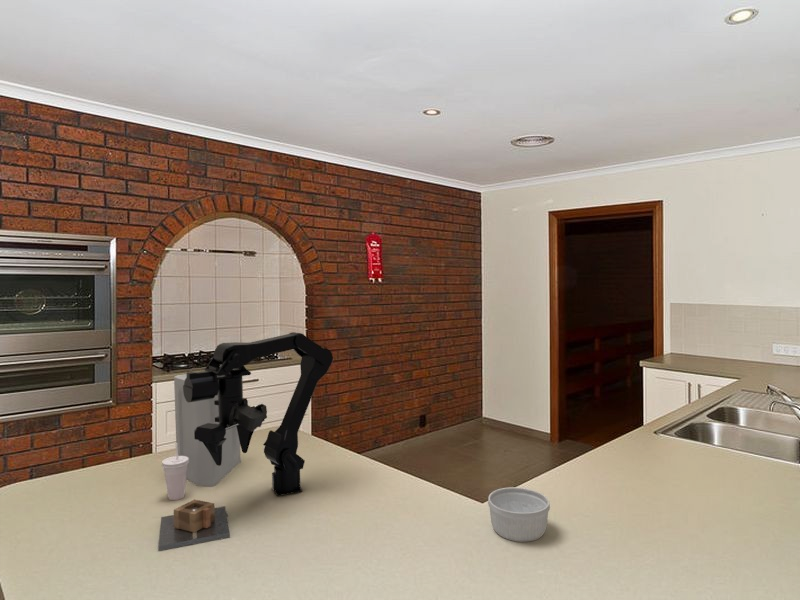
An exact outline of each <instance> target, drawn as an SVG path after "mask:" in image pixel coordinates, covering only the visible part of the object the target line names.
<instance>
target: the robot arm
mask: <svg viewBox="0 0 800 600" xmlns="http://www.w3.org/2000/svg"><path fill="white" fill-rule="evenodd" d="M291 350H293V351H294V353H296V355H297V356H299V357H301V361H300V376H299V379H298V382H297V384H296V387H295V388H294V392H293V394H292V396H291V398H290V401H289V404H288V406H287V409H286V411H285V413H284V416H283V418H282V421H281V423H280V425H279V427H278V428H276V430H275V431H274V430H269V432H268V434H267V438H266V440H265V442H264V443H263V446H264V448H263V453H264V456H265V458H266V459H268V460H269V462H270V463H271V465H273V471H272V473H271V484H272V486H271V487H272V490H273V492H275V494H276V496H277V497H278V496H284V495H291V494H295V493H301V492H303V490H302V487H301V470H303V469H304V466H305V459H304V458H303V457H301V456H300V455H298V453H297V452H298V448H299V436H298V434H299V430H300V428H301V426H302V425H301V424H302V423H303V420H304V417H305V416H306V412H307V410H308V407H309V405H310V402H311V401H312V397H313V395H314V392H315V390H316V387H317V385H318V382H319V381H320V380H321V379H322V378H323V377H324V376H325V375H326V374H327V373H328V372H329V370H330V367H331V366H332V364H333V361H334V356H333V353H332V351H331V349H329V348H326V347H322V346H321V345H320V344H318V343H316V342H315V341H313V340H311V339H310V338H308V337H307V336H306V335H305V334H304V333H301V332H296V331H291V332H289V333H287V334H282V335H279V336H274V337H270V338H265V339H259V340H255V341H251V342H249V341H248V342H241V341H239V342H238V341H237V342H222V343H219V344H218V345H217V346H216V348H215V349H214V352H213V355H212V358H211V359H210V360H209V362H208V364H207V366H206V367H205V368H204V370H202V371H188V372H186V374H187V378H186V379H185V382H184V385H183V393H184V397H185V399H186V401H187V402H188V403H189V402H195V401H201V400H207V399H213V398H214V397H215V396H216V395H218V400H215V401H214V405H218V413H219V416H218V417H215V422H219V424H211V423H207V424H204V425H201V426H198V427H197V428H196V429H195V430H194V437H195V439H196V440H199V441H200V442H203V444H204V445H205V446H206V448H207V449H208V451H209V453H210V454H211V456H212V458H213V460H214V461H215V463H216V465H218V466H220V465H221V462H222V444H223V443H224V441H225V440H226V438H224V436H225V434H226V430H228V429H230V428H233V427H235V426H236V427H237V431H238V436H239V441H240V450H241V452H242V453H243V454H246V453H247V452H248V450H249V447H250V444H251V443H250V442H251V441H252V438H253V437H252V436H253V434H254V431H255V430H256V429H257V428H261V427H262V425H263V422H265V419H267V418H268V416H267V413H268V409H267V405H266V404H264V403H259V404H258V405H256V406H255V405H253V406H251V405H249V403H248V402H249V400H248V398H247V397H244V394H243V393H244V391H243V390H244V387H243V385H244V384H243V377H245V376H250V375H251V374H252V372H251V371H250V370H249V369H247V368H246V365H248V364H251V363H252V362H253V361H254V360H256V359H258V358H262V357H263V358H264V357H266V356H270V355H271V356H272V355H275V354H279V353H284V352H287V351H291Z"/></svg>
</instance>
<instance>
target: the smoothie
mask: <svg viewBox="0 0 800 600" xmlns="http://www.w3.org/2000/svg"><path fill="white" fill-rule="evenodd" d="M188 463H189V458H188V457H186V456H178V443H175V456H174V455H173V456H170V457H167V458H164V459H163V460H162V461H161V467H162V468H163V472H164V478H165V479H164V480H165V486H166V490H167V495H168V500H169V501H176V500H177V501H178V500H181V499H183V498H184V497H185V491H186V481H187V480H186V474H187V464H188Z"/></svg>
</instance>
